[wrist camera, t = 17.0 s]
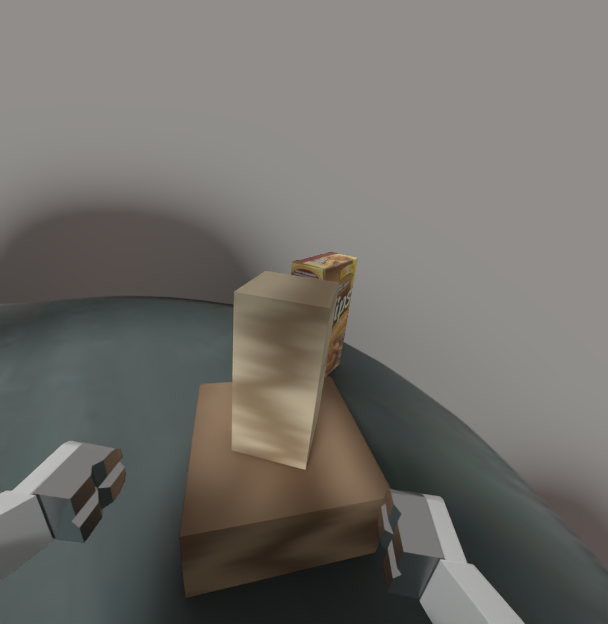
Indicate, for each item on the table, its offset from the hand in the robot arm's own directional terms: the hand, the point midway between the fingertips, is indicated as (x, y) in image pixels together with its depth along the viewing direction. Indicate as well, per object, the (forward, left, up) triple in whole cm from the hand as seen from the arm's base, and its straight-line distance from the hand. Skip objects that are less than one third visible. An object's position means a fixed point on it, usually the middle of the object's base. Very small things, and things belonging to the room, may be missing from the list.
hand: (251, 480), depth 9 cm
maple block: (0, +10, -8) cm, 13 cm away
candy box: (+2, +26, -14) cm, 29 cm away
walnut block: (0, +10, -14) cm, 17 cm away
